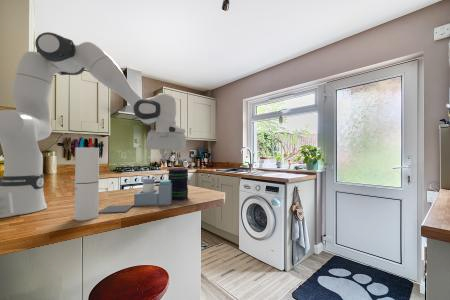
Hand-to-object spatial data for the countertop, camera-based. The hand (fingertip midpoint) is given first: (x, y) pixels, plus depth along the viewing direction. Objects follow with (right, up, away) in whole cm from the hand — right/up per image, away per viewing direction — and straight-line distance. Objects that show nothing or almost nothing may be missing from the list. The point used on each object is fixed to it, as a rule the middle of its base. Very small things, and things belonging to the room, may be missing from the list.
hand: (165, 159), depth 95 cm
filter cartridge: (-8, -20, +2) cm, 22 cm away
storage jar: (+4, -21, +10) cm, 23 cm away
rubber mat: (-17, -20, -11) cm, 28 cm away
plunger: (0, -17, 0) cm, 17 cm away
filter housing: (-5, -20, +2) cm, 21 cm away
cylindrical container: (-22, -20, -21) cm, 36 cm away
